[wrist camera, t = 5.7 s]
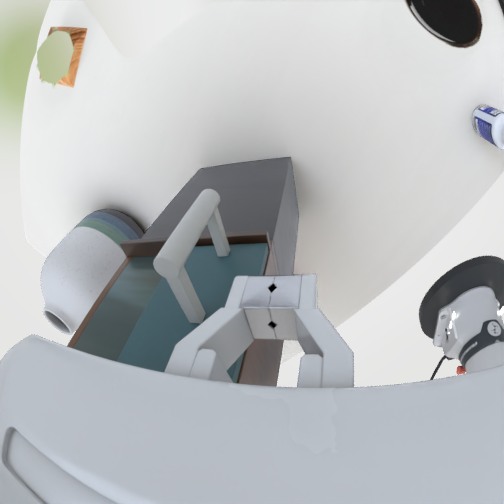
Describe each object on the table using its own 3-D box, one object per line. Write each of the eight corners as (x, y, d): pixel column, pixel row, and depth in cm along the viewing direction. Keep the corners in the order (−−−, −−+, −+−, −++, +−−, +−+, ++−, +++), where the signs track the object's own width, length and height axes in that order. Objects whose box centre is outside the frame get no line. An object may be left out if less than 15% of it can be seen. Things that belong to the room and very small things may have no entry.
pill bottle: (488, 143, 27) (519, 165, 21) (466, 126, 27) (498, 145, 21) (500, 115, 24) (533, 133, 17) (478, 97, 24) (512, 111, 17)
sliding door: (269, 251, 21) (231, 405, 12) (183, 254, 23) (117, 379, 14) (253, 179, 17) (185, 338, 8) (158, 192, 19) (57, 316, 10)
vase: (97, 186, 47) (13, 266, 29) (167, 228, 50) (99, 330, 32) (88, 241, 57) (29, 316, 39) (147, 277, 61) (97, 364, 42)
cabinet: (298, 216, 43) (262, 461, 17) (216, 222, 47) (120, 424, 21) (288, 146, 37) (216, 420, 10) (197, 159, 40) (38, 360, 14)
